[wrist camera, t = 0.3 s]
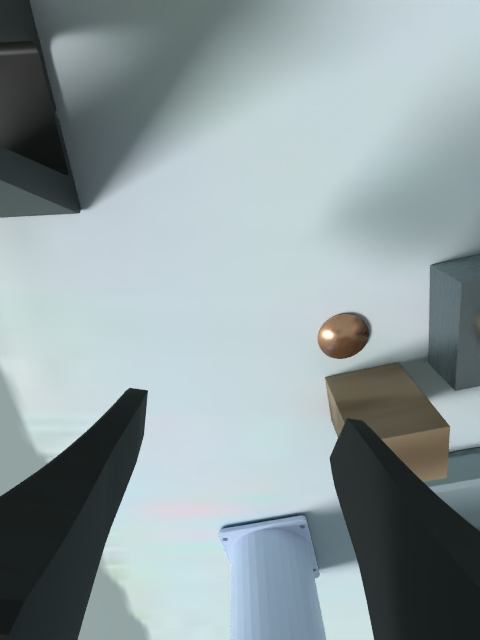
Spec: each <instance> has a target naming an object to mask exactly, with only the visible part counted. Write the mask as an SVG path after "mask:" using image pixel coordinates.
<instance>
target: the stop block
mask: <svg viewBox="0 0 480 640" xmlns="http://www.w3.org/2000/svg"><path fill="white" fill-rule="evenodd" d="M325 381H326V387H327V394H328V400H329V407H330V413H331V420H332V423H333V425H334V428H335V431H336V433H337V436H338V438H339V435H340V433H341V431H342V428H343V426H344V424H345V421H346V419H347V418H348V419H355V420H363V421H364V422H365V423H366V424H367V425H368V426H369V427H370V428H371V429H372V430H373V431H374V432H375V433H376V434H377V435H378V436H379V437H380V439H381V440H382V441H383V442H384V443H385V444H386V445H387V446H388V447H389V448H390V449H391V450H392V451H393V452H394V453H395V454H396V455H397V456H398V457H399V458H400V459H401V460H402V461H403V463H404V464H405V465H406V466H407V467H408V468H409V469H410V470H411V471H412V472H413V473H414V474H415V475H416V476H417V477H419V478H420V479H421V480H422V481H423V482H426V481H431V480H437V479H443V478H447V469H448V451H449V434H450V426H449V425H448V423H447V422H446V421H445V420H444V418H443V417H442V416H441V415H440V414H439V412H438V411H437V410H436V409H435V407H434V406H433V405H432V404H431V402H430V401H429V400H428V399H427V397H426V396H425V395H424V394H423V392H422V391H421V390H420V389H419V387H418V386H417V385H416V384H415V382H414V381H413V380H412V379H411V377H410V376H409V375H408V374H407V372H406V371H405V370H404V369H403V367H402V366H401V365H400V364H399V363H393V364H388V365H383V366H378V367H373V368H368V369H363V370H358V371H353V372H348V373H343V374H338V375H334V376H329V377H325Z"/></svg>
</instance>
